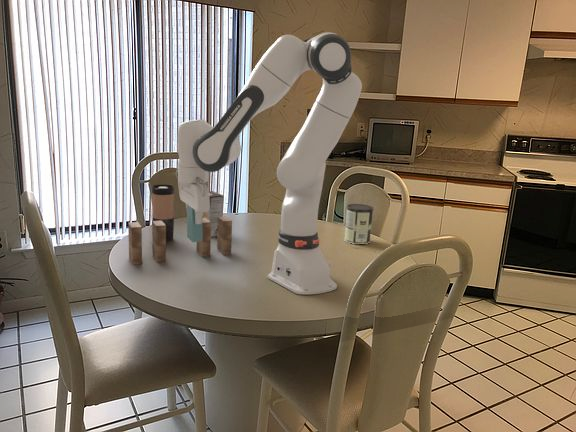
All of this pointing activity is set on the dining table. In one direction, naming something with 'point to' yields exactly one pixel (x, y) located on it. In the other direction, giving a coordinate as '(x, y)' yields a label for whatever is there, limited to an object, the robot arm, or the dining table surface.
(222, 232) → the domino
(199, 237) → the domino
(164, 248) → the domino
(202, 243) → the domino
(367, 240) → the coffee can
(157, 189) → the travel mug
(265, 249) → the dining table surface
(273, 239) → the dining table surface
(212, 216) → the coffee box
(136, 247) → the domino far
